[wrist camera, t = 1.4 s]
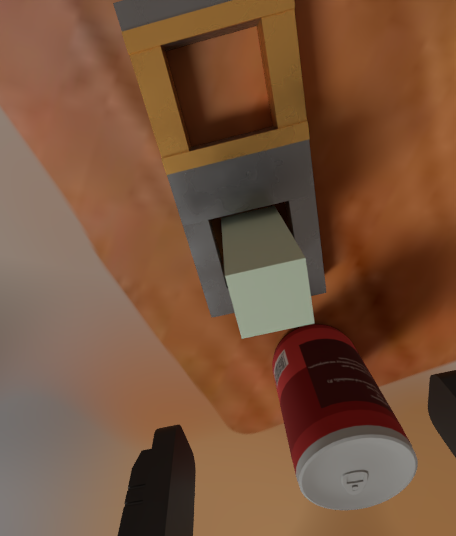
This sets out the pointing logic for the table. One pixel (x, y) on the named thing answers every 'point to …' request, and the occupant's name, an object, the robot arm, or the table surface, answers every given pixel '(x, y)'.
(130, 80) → the table surface
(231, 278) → the sage block
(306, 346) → the canned food
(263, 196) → the grey yellow flat board
